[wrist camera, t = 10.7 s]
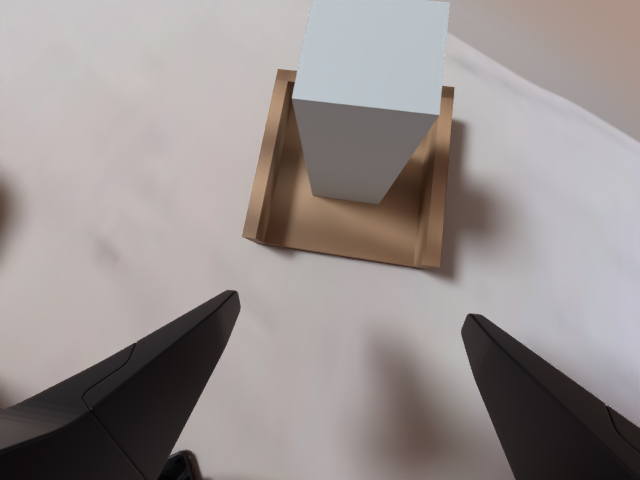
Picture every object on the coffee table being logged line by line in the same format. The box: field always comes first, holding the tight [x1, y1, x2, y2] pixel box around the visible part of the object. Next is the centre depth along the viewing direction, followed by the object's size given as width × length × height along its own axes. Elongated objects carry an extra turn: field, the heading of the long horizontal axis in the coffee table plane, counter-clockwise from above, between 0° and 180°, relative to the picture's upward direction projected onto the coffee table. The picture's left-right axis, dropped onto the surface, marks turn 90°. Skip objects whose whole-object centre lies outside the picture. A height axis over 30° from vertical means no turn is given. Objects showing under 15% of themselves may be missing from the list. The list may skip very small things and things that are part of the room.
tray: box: [242, 69, 454, 269], centre depth 19 cm, size 14×14×3 cm
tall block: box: [292, 0, 450, 205], centre depth 14 cm, size 5×6×10 cm
